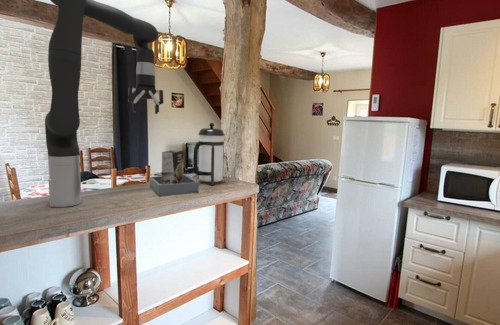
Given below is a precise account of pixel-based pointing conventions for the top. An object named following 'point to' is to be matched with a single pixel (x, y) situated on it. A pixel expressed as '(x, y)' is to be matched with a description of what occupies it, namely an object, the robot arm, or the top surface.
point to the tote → (173, 186)
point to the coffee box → (172, 167)
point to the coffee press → (209, 155)
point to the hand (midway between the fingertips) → (146, 113)
